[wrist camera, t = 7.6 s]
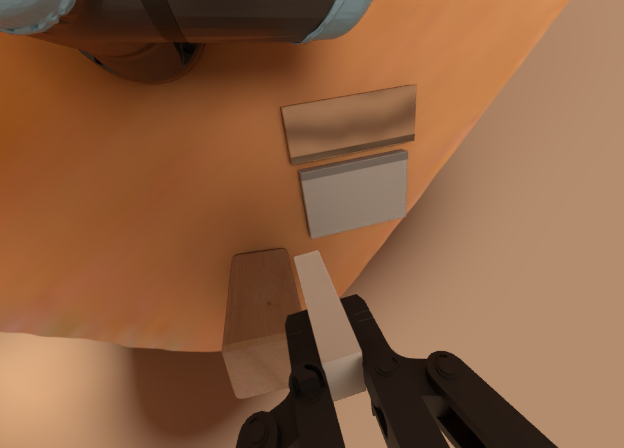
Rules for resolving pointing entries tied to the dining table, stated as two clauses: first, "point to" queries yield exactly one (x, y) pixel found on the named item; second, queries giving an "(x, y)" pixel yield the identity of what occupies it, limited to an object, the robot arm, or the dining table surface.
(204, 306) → the dining table surface
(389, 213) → the plank
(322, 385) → the robot arm
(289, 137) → the board
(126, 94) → the dining table surface
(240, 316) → the wooden block
